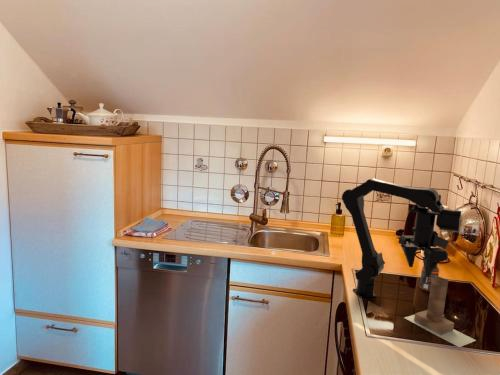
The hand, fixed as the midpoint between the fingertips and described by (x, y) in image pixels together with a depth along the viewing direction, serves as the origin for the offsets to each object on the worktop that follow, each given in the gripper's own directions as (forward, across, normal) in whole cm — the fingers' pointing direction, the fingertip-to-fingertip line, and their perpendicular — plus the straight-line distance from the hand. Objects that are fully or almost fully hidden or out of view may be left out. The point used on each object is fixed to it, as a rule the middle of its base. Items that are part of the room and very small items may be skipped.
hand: (418, 271), depth 129 cm
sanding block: (+12, -13, +2) cm, 18 cm away
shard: (+14, -2, +16) cm, 21 cm away
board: (+13, -15, +2) cm, 20 cm away
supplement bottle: (+13, +16, -16) cm, 26 cm away
